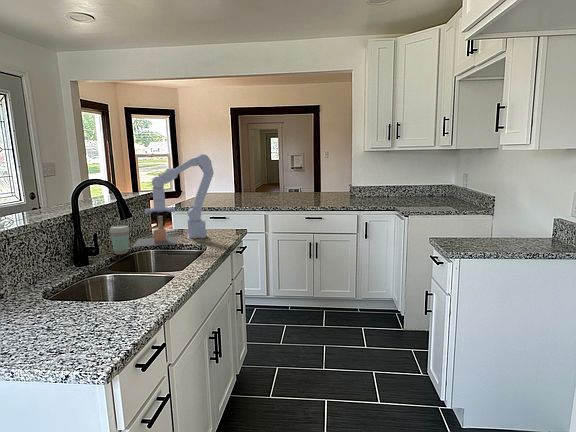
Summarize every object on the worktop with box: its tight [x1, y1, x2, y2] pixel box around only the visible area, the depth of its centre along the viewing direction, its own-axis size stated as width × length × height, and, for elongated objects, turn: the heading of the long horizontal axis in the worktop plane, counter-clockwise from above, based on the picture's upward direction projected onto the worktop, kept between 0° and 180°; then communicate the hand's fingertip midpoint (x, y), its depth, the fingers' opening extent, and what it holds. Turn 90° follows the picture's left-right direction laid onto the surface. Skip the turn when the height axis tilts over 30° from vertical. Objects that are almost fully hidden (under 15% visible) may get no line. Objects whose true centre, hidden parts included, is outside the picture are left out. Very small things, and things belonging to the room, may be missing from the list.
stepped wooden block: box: [157, 215, 167, 230], centre depth 198 cm, size 4×4×8 cm
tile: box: [153, 228, 168, 242], centre depth 194 cm, size 6×2×6 cm, turn 102°
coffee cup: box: [109, 225, 130, 255], centre depth 173 cm, size 9×8×12 cm
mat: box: [131, 236, 179, 248], centre depth 194 cm, size 20×18×1 cm
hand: (160, 226), depth 199 cm, fingers closed on stepped wooden block, 2 cm apart
